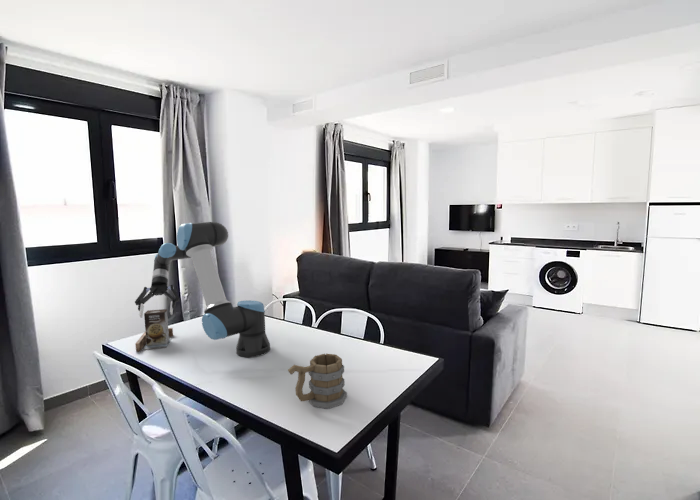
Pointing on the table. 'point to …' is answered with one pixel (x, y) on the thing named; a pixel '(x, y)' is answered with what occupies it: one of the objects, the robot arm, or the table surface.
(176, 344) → the table surface
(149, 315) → the coffee box
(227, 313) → the robot arm
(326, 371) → the tankard
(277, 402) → the table surface
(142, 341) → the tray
